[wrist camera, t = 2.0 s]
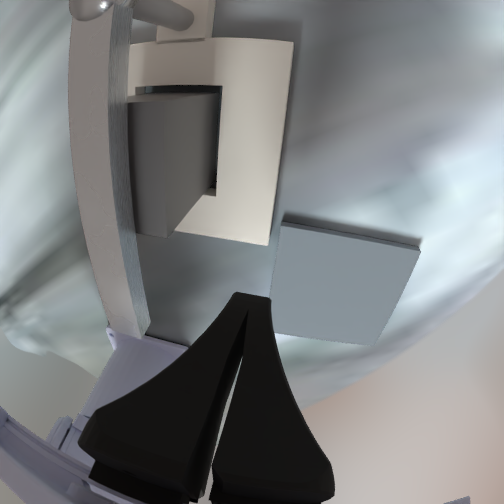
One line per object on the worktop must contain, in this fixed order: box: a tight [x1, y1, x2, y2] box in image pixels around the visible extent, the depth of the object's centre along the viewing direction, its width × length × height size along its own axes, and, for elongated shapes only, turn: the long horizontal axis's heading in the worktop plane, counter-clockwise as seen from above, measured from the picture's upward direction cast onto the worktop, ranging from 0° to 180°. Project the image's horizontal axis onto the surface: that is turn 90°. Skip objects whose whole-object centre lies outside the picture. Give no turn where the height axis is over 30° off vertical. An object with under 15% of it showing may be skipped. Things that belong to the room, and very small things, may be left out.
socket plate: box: [128, 0, 294, 246], centre depth 11 cm, size 12×10×6 cm
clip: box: [68, 0, 151, 339], centre depth 8 cm, size 14×2×1 cm, turn 175°
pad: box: [269, 222, 421, 346], centre depth 17 cm, size 8×8×1 cm
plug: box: [127, 92, 220, 238], centre depth 11 cm, size 5×4×6 cm
